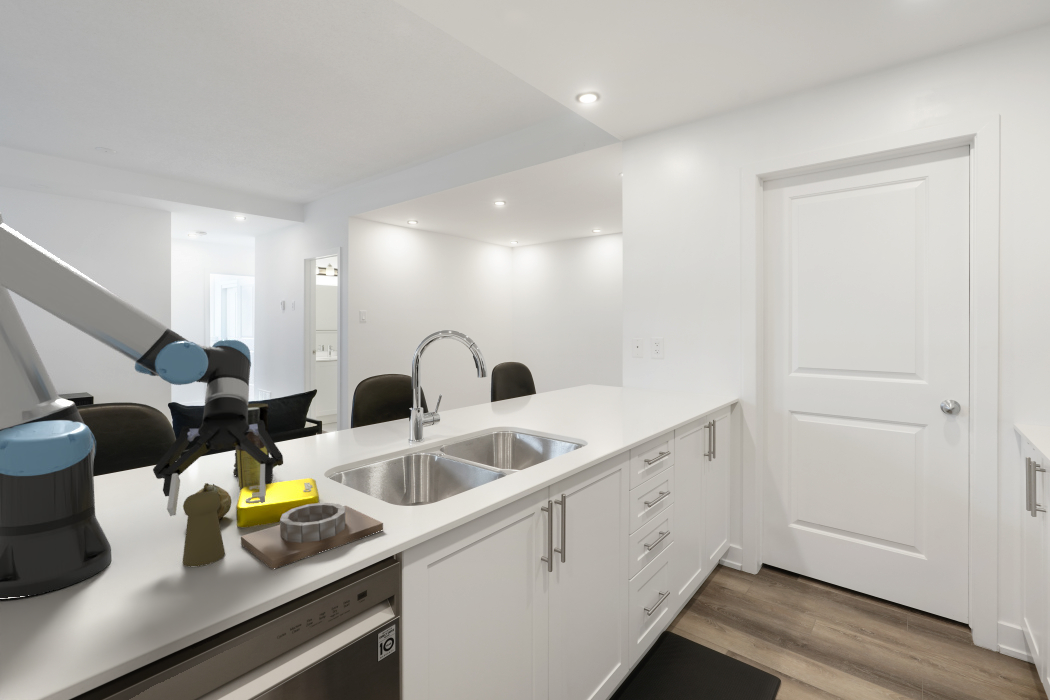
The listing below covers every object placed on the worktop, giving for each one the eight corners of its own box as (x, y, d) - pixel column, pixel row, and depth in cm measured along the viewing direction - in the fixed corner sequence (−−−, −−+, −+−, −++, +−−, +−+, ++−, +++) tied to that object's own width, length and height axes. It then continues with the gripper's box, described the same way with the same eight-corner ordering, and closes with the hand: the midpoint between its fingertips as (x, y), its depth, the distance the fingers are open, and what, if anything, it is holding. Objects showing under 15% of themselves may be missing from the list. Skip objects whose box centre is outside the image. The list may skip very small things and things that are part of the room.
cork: (233, 550, 86) (231, 488, 86) (207, 567, 80) (205, 500, 79) (200, 549, 87) (198, 487, 86) (173, 566, 81) (170, 499, 80)
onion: (242, 514, 103) (240, 476, 102) (208, 530, 95) (206, 488, 95) (213, 511, 105) (211, 473, 104) (177, 526, 97) (175, 485, 97)
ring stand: (272, 569, 79) (271, 542, 79) (241, 544, 88) (240, 519, 88) (383, 530, 94) (382, 507, 94) (346, 512, 103) (345, 491, 103)
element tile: (320, 517, 102) (319, 494, 102) (235, 531, 95) (235, 506, 95) (315, 495, 115) (314, 475, 115) (241, 506, 109) (240, 484, 108)
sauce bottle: (275, 490, 118) (272, 407, 117) (251, 498, 112) (248, 411, 111) (256, 487, 120) (253, 405, 119) (232, 495, 114) (229, 409, 114)
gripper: (296, 411, 107) (297, 504, 94) (154, 422, 96) (135, 527, 84) (294, 390, 101) (296, 485, 89) (145, 399, 91) (123, 507, 79)
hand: (218, 506), depth 86 cm, fingers open, 13 cm apart
